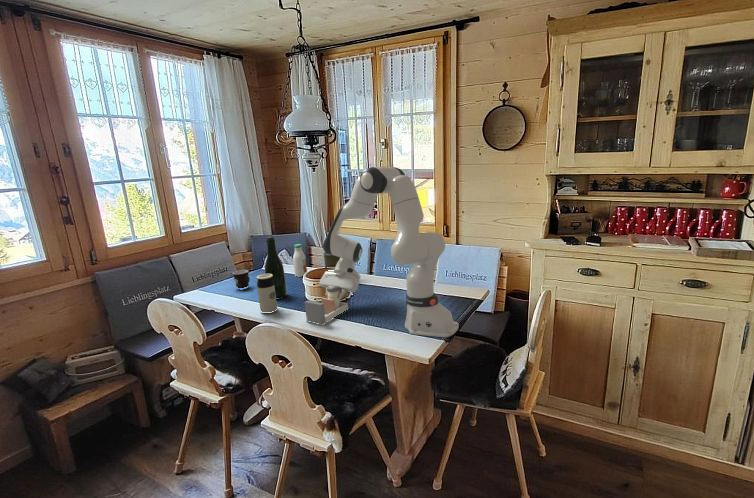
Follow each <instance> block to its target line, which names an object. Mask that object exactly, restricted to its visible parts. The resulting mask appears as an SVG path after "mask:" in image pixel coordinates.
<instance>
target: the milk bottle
mask: <svg viewBox="0 0 754 498" xmlns="http://www.w3.org/2000/svg"><path fill="white" fill-rule="evenodd" d="M293 247H294V253H293V256H292V260H293V271H294V277H296V276H297V277H296V278H303V277H302V276H303V275H304V274H305V273H306V272H307V273H308V267H307V261H306V260H307V259H306V255H305V253H304V251H303V246H302V244H301V243H296V244H295V243H294V245H293Z"/></svg>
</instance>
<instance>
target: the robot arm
mask: <svg viewBox="0 0 754 498" xmlns="http://www.w3.org/2000/svg"><path fill="white" fill-rule="evenodd" d="M378 194H387V195H388V196H389V197H390V201H391V204H392V209H393V213H394V216H395V220H396V226H397V228H396V237H395V240H394V242H393V243H392V245H391V247H390V255H391V258H392V260H393V262H394V263H395V264H397V265H399V266H411V268H410V270H409V271H408V273H407V275H406V278H405V279H406V293H405V300H406V301H405V302H406V303H405V304H406V317H405V322H404V329H406V330H408V332H409V334H410V335H415V336H416V335H419V336H426V337H437V338H449V337H451V336H453V335H454V334H456V332H457V331H458V330H459V327H460V325H459V322H457V321H454V319H453V314H452V312H451V311H450V310H449V309H447V308H446V307H445V306H444V305H442V304H441V303H440V302H439V299H440V294H438V295H436V294H435V292H434V291H435V290H434V289H435V287H434V286H435V284H434V280H435V279H434V278H435V277H434V276H435V272H436V271H435V270H436V268H437V264H438V262H439V259H440V257H441V256H442V254H443V253H444V252H445V249H446V241H445V238H444V237H443V236H442V234H440V233H438V232H432V231H431V232H429V231H428V232H423V233H420V229H419V228H420V224H421V223H422V222H423V220H424V217H425V216H424V212H423V208H422V205H421V201H420V197H419V194H418V191H417V189H416V187H415V184H414V182H413V180H412V178H411V177H410V176H409V175H406V173H405V172H404V171H403V170H402V169H401V168H398V167H397V166H396V167H395V166H391V167H390V166H375V167H374V166H372V167H371V166H370V167H367V168H365V169H364V170H362V172H361V173H360V175H359V176H358V178H357V179H356V181H355V183H354V185H353V189H352V191H351V195H350V198H349V200H348V201H347V202H346V203H343V204H342V205H341V206H340V207H339V209H338V211H337V213H336V215H335V217H334V219H333V221H332V223H331V225H330V228H329V230H328V232H327V235H326V236H325V237H324V239H323V241H322V249H323V251H324V253H326V254H330V255H335V256H337V257H340V260H339V261H338V262H337V265H336V267H335V269H334V270H328V271H324V273H323V274H322V276H321V277H320V279H319V286H320V287H321V288H323V289H324V288H325V296H326V297H325V298H328V293H327V287H328V286H330V285H333V286H339V291H341V292H339V294H338V296H337V298H338V299H340V300H342V298H343V296H344V295H345V294H347V292H350V293H355V292H356V291H357V290H358V288H359V285H360V279H361V277H362V276H361V274H359V272H358V271H357V270H356V269H355V265H357V263H358V262H359V261H360V259H361V256H362V254H363V247H362V244H361V243H360V242H359V241H358V240H355V239H349V238H347V237H344V236H341V235H340V234H339V231H340V230H341V227H342V224H343V222H344V221H346V220H358V219H363V218H366V217H368V216H370V214H371V213H372V211H373V208H374V206H375V203H376V200H377V196H378Z"/></svg>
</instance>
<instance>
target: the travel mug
mask: <svg viewBox="0 0 754 498" xmlns="http://www.w3.org/2000/svg"><path fill="white" fill-rule="evenodd" d="M272 276H273V275H272V274H265V273H263V274H259V275H257V276H256V279H257V282H256V286H257V294H258V302H259V308H260V309H259V310H261V311H262V312H272V311H275V310H276V309H277V310H278V303H277V300H276V294H275V286H274V281H273V279H272ZM261 311H260V312H261ZM275 312H276V311H275Z"/></svg>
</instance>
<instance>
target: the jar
mask: <svg viewBox="0 0 754 498" xmlns="http://www.w3.org/2000/svg"><path fill="white" fill-rule="evenodd" d="M327 293H328V297H327V298H328V299H334V300H335V310H336V309H338V308H339V307H341V306H340V302H341V299H338V298H337V296H338V294H340V290H339V286H333V285H330V286H328V287H327Z"/></svg>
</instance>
